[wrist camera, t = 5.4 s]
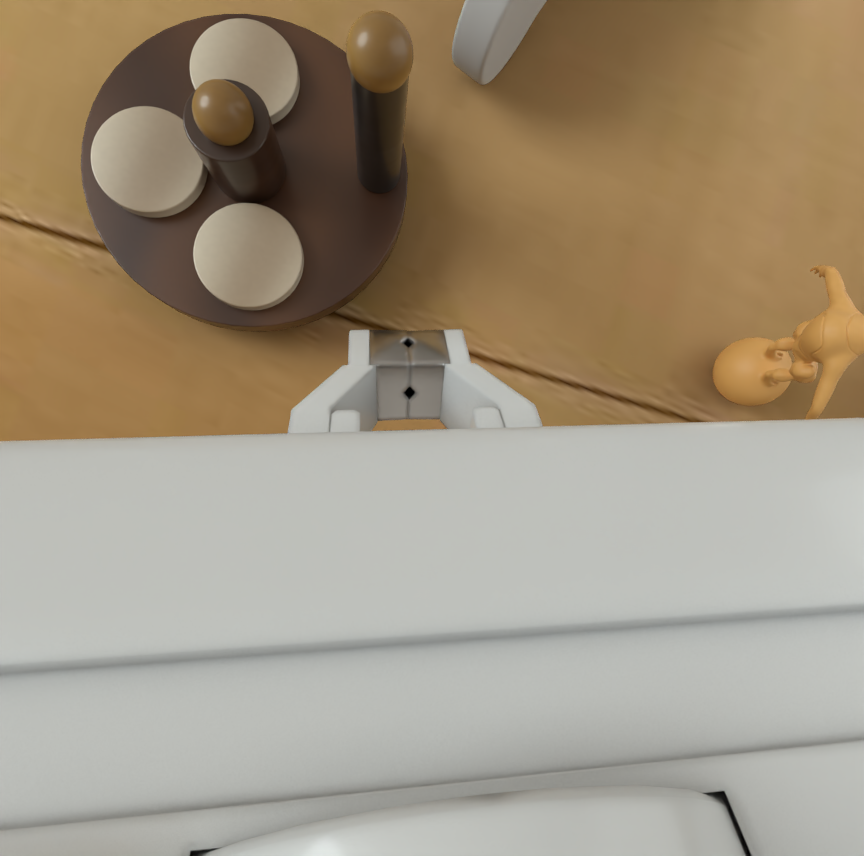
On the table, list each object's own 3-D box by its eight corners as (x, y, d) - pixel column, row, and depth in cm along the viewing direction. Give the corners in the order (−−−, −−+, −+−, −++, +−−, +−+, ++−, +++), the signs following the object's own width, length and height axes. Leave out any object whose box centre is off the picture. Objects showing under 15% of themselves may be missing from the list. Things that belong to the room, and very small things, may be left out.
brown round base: (96, 332, 26) (-98, 259, 15) (91, 22, 26) (-102, -259, 16) (410, 331, 28) (431, 264, 17) (402, 40, 28) (418, -202, 17)
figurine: (750, 446, 32) (975, 450, 20) (660, 433, 31) (836, 430, 19) (764, 315, 32) (994, 242, 20) (675, 300, 31) (857, 216, 19)
